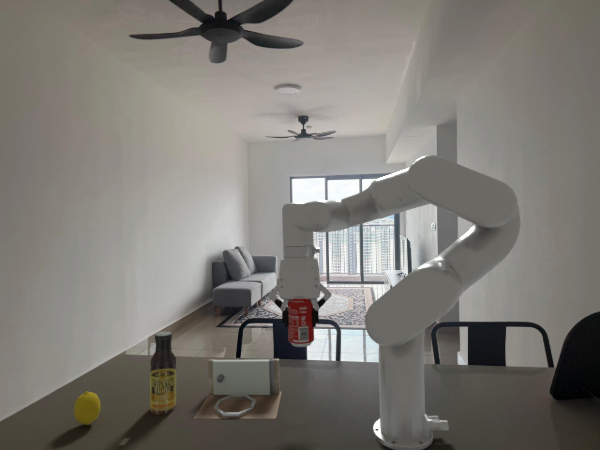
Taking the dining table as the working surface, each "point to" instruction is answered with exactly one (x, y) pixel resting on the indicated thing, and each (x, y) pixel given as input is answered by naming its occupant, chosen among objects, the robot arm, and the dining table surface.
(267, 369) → the door
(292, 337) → the beverage can
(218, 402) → the grey octagonal ring
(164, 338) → the sauce bottle
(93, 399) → the lemon
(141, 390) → the dining table surface
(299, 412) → the dining table surface
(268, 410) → the base
